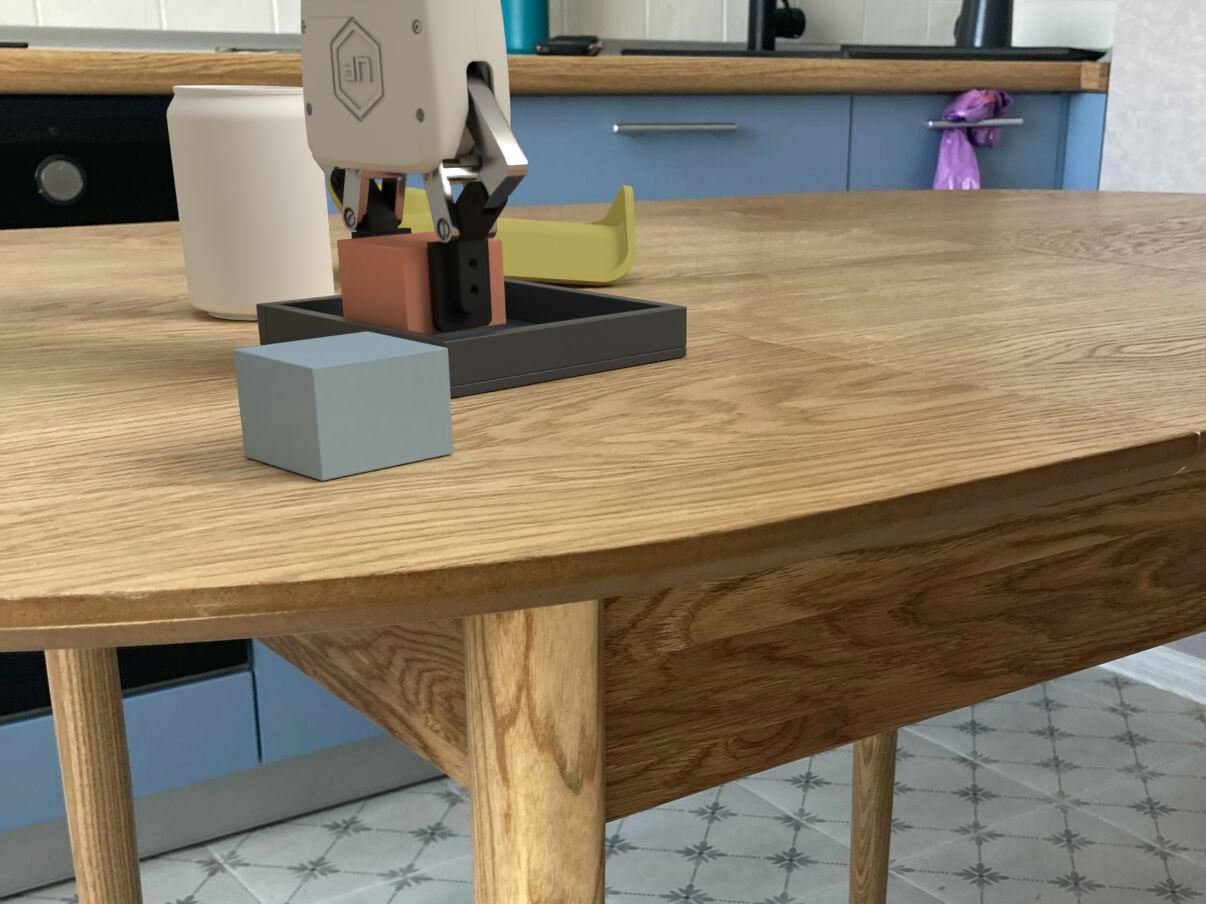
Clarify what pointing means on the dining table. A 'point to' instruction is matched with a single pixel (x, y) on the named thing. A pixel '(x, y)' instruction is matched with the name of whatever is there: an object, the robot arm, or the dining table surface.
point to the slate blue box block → (344, 403)
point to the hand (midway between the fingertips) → (424, 316)
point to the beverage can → (248, 198)
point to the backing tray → (513, 334)
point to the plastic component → (549, 242)
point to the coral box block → (402, 281)
